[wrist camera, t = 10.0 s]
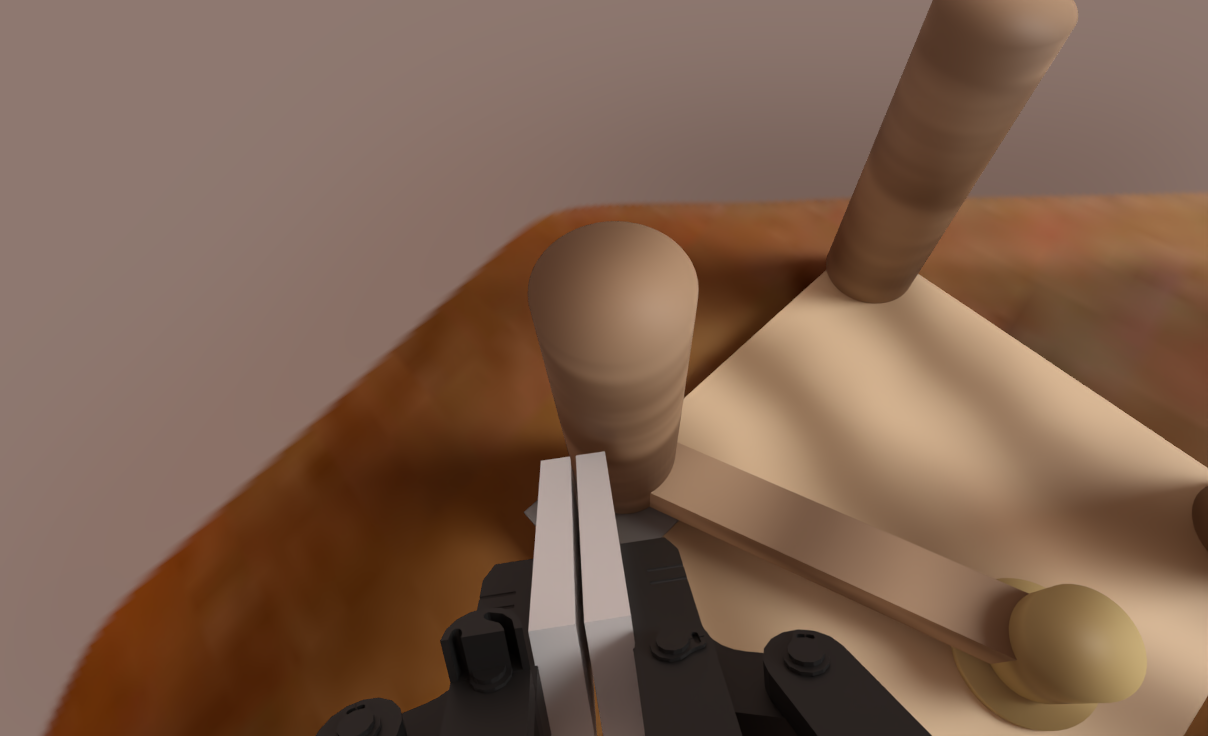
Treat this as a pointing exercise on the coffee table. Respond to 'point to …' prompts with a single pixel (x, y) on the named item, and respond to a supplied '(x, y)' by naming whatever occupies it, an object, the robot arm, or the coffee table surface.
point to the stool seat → (948, 426)
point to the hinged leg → (767, 511)
